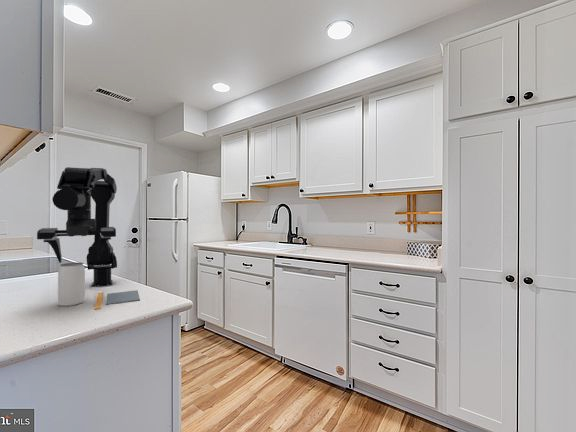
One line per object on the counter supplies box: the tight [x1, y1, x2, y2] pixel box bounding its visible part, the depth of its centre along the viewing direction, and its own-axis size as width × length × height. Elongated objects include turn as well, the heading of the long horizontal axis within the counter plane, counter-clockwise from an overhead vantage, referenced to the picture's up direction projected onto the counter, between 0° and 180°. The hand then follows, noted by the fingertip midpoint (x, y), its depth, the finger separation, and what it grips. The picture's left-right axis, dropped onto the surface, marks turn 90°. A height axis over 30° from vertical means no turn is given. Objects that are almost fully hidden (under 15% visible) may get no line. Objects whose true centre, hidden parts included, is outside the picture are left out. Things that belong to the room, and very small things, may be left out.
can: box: [57, 261, 86, 307], centre depth 86 cm, size 6×6×12 cm
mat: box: [105, 289, 141, 306], centre depth 92 cm, size 12×9×1 cm
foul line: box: [93, 291, 104, 311], centre depth 89 cm, size 18×2×1 cm, turn 31°
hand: (79, 261), depth 86 cm, fingers open, 9 cm apart
